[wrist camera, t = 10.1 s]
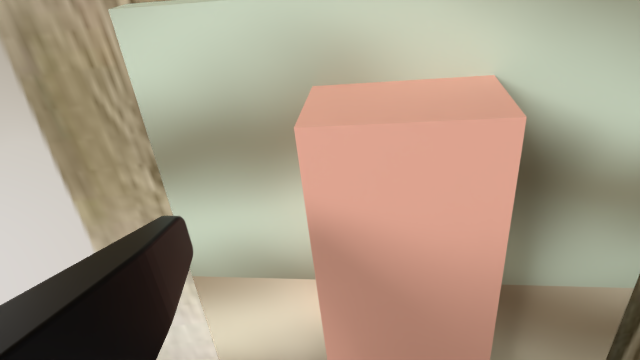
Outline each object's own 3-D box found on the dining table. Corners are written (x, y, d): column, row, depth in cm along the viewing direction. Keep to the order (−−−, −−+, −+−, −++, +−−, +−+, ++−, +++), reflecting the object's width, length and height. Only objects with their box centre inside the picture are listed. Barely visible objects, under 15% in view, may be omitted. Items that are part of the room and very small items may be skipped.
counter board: (547, 468, 22) (554, 490, 21) (255, 442, 25) (250, 461, 24) (732, -44, 10) (763, -42, 9) (126, 4, 13) (108, 9, 12)
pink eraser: (467, 328, 16) (483, 402, 14) (339, 324, 17) (332, 394, 15) (494, 74, 11) (526, 117, 9) (312, 86, 12) (293, 127, 10)
